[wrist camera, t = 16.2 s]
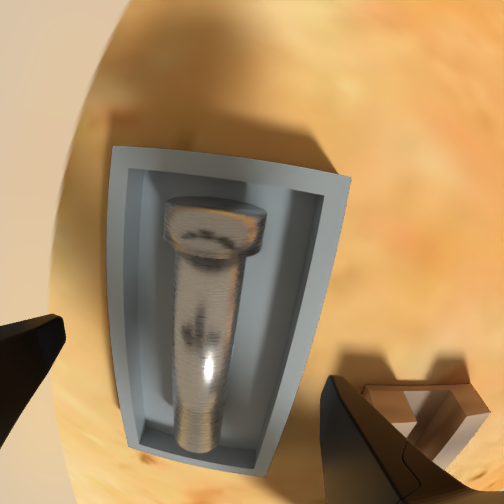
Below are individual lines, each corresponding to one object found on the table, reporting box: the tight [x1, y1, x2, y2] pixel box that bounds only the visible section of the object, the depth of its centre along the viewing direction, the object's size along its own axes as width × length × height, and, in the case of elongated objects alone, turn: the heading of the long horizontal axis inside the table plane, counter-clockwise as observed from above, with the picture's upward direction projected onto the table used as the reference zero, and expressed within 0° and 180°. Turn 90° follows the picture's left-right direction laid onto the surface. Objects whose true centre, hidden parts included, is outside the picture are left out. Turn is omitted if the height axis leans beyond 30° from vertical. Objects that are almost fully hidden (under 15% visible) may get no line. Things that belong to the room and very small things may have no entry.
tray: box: [106, 146, 351, 477], centre depth 13 cm, size 17×9×2 cm, turn 171°
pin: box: [163, 196, 267, 453], centre depth 12 cm, size 12×3×3 cm, turn 171°
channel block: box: [362, 383, 491, 470], centre depth 14 cm, size 6×8×3 cm
